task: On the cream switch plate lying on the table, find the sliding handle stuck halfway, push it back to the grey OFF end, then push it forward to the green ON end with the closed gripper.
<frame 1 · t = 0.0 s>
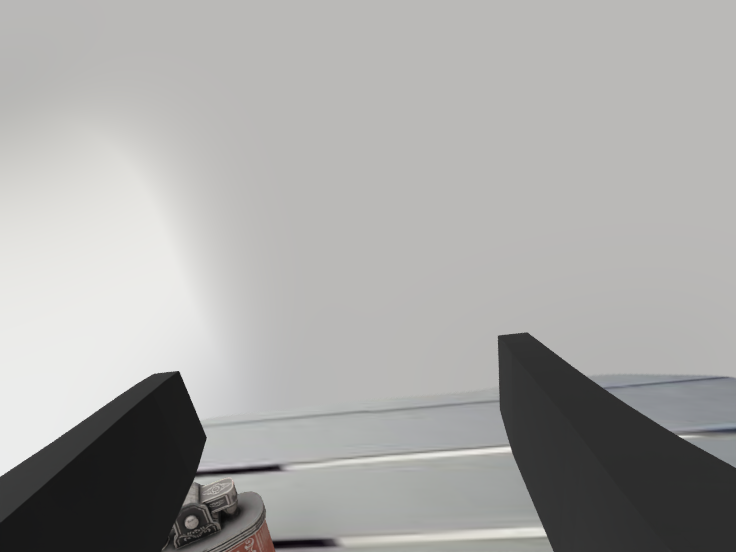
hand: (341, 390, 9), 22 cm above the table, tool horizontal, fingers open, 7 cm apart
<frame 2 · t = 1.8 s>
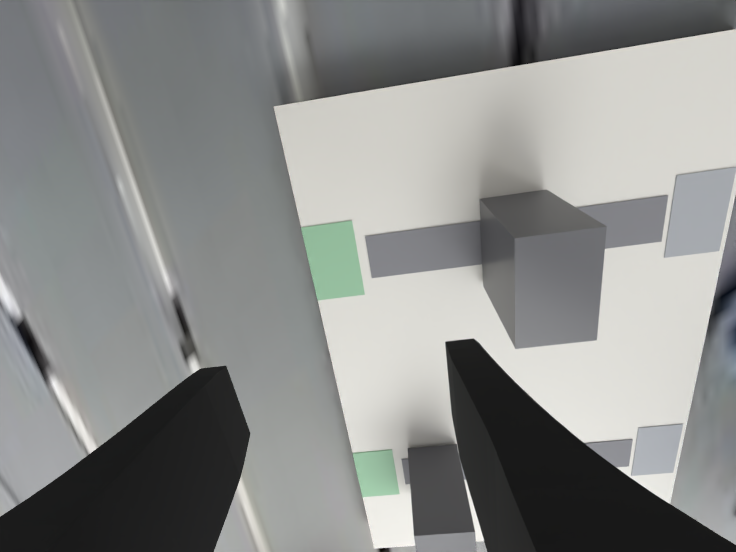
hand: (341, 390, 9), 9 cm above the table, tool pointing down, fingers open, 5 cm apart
tripped handle: (532, 262, 14), point 4 cm above the table, slide at 4.0 cm
on handle: (440, 512, 19), point 4 cm above the table, slide at 8.0 cm
switch plate: (504, 346, 20), on the table
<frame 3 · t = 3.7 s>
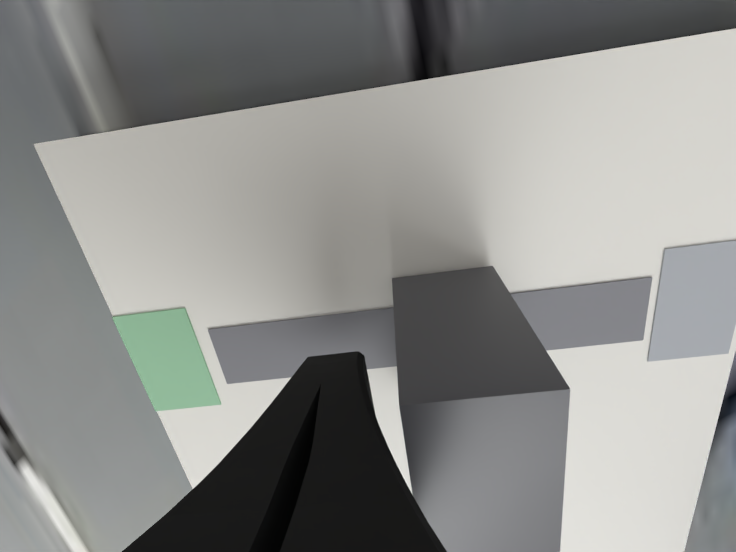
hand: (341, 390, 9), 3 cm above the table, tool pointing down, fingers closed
tripped handle: (462, 393, 9), point 4 cm above the table, slide at 3.4 cm, touching gripper
switch plate: (434, 454, 15), on the table
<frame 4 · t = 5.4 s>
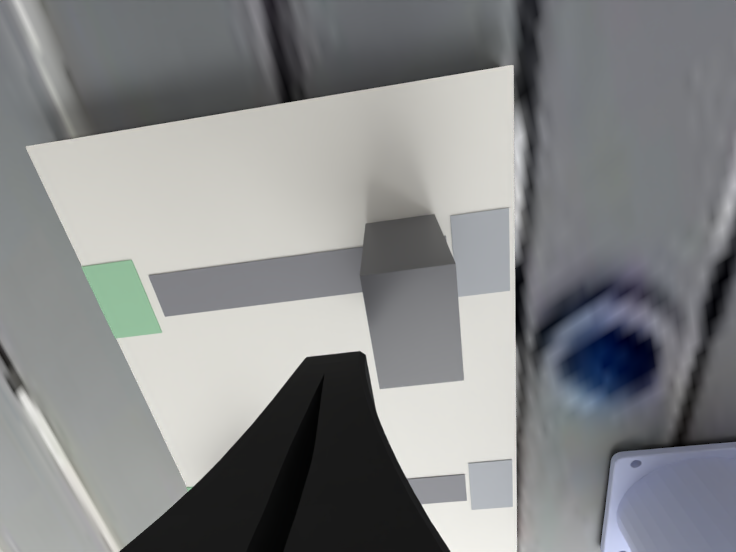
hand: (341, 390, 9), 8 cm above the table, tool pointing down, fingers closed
tripped handle: (409, 293, 13), point 4 cm above the table, slide at -0.1 cm
switch plate: (332, 379, 19), on the table
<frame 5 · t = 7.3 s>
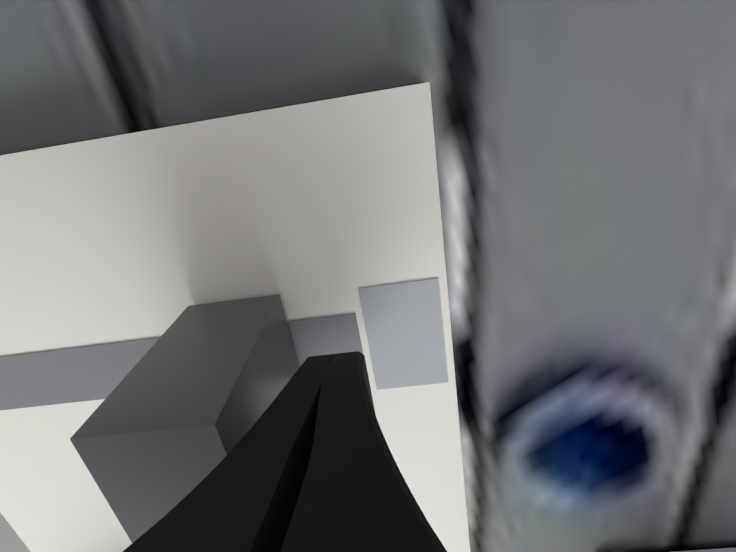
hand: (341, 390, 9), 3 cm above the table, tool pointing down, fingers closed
tripped handle: (224, 417, 9), point 4 cm above the table, slide at 1.4 cm, touching gripper
switch plate: (240, 471, 15), on the table
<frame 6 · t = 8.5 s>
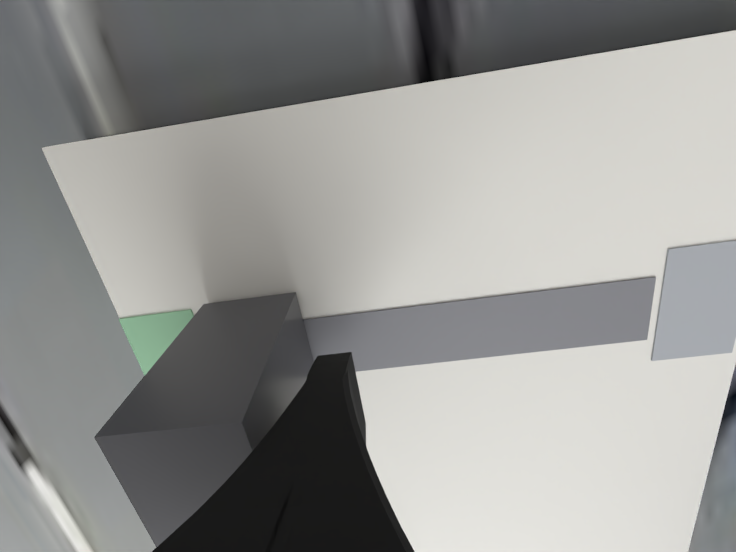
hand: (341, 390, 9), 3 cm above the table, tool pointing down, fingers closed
tripped handle: (242, 416, 9), point 4 cm above the table, slide at 8.3 cm, touching gripper
switch plate: (439, 454, 15), on the table
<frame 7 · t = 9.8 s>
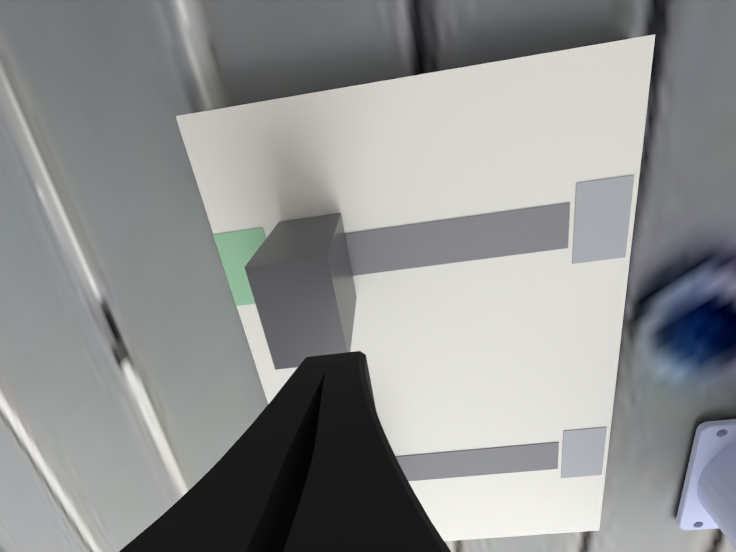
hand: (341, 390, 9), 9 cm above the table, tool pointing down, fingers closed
tripped handle: (310, 284, 14), point 4 cm above the table, slide at 8.1 cm
switch plate: (430, 350, 20), on the table
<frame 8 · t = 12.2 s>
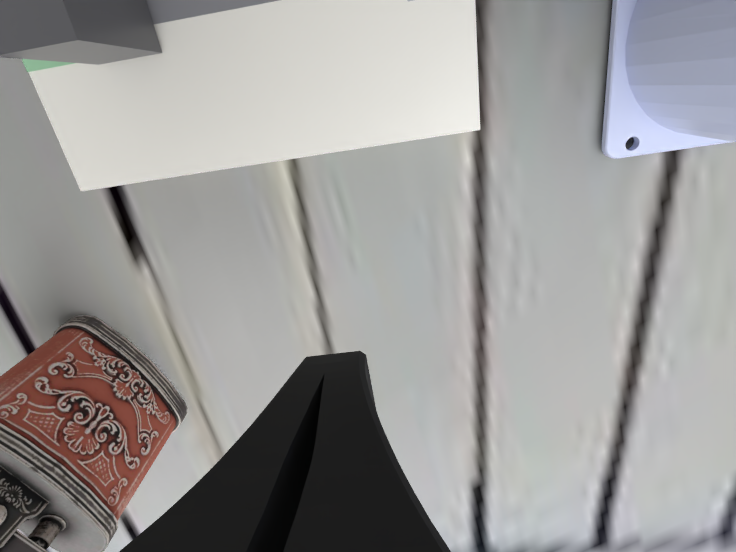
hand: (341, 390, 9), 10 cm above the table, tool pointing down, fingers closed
lighter: (130, 371, 23), on the table
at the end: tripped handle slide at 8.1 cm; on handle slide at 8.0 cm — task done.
